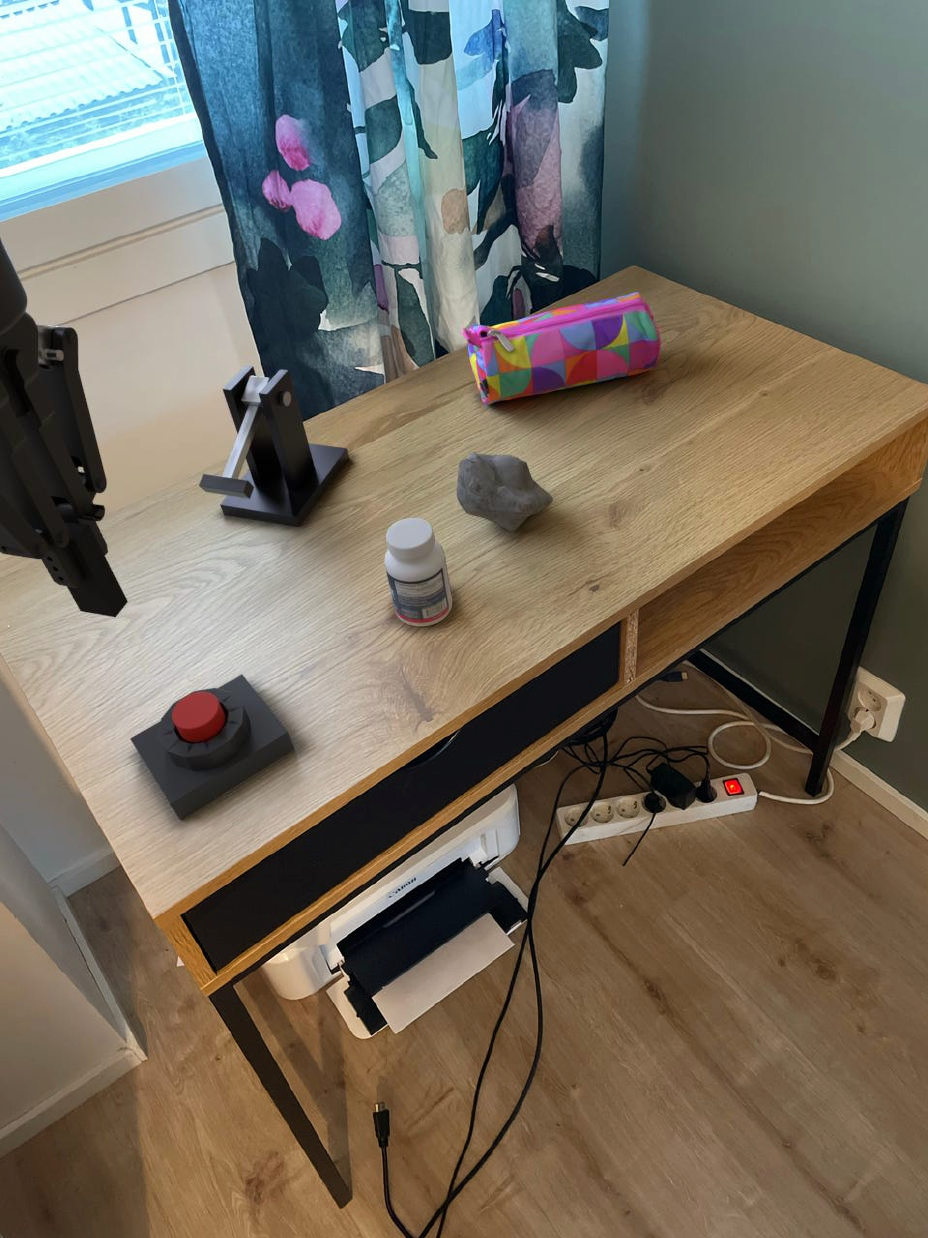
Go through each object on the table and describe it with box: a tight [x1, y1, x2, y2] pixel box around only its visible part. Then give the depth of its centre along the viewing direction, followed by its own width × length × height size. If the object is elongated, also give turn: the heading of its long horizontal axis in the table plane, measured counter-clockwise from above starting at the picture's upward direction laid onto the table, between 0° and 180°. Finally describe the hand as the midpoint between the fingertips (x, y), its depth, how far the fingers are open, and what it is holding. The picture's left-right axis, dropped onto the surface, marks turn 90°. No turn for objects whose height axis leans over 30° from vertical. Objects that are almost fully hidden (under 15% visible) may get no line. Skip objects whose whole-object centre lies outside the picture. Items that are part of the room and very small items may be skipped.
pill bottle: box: [384, 517, 453, 627], centre depth 77 cm, size 5×5×9 cm
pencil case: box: [461, 291, 662, 405], centre depth 101 cm, size 22×9×9 cm, turn 103°
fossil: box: [456, 451, 554, 532], centre depth 85 cm, size 11×9×8 cm
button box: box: [129, 673, 296, 821], centre depth 70 cm, size 10×8×4 cm
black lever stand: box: [219, 365, 350, 528], centre depth 91 cm, size 12×9×13 cm
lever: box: [198, 375, 272, 499], centre depth 87 cm, size 12×5×2 cm, turn 161°
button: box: [172, 692, 225, 742], centre depth 68 cm, size 4×4×2 cm
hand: (104, 606), depth 59 cm, fingers closed
